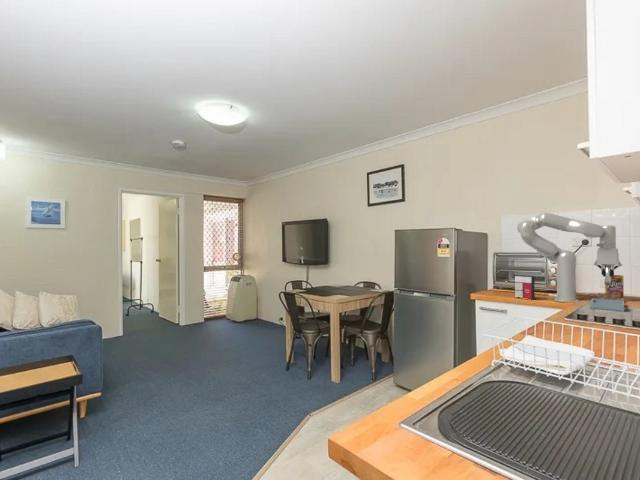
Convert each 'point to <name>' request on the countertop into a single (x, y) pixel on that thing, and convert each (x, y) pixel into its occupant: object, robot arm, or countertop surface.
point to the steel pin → (607, 274)
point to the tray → (607, 304)
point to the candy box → (615, 286)
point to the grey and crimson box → (524, 286)
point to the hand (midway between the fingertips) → (607, 276)
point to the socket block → (608, 296)
